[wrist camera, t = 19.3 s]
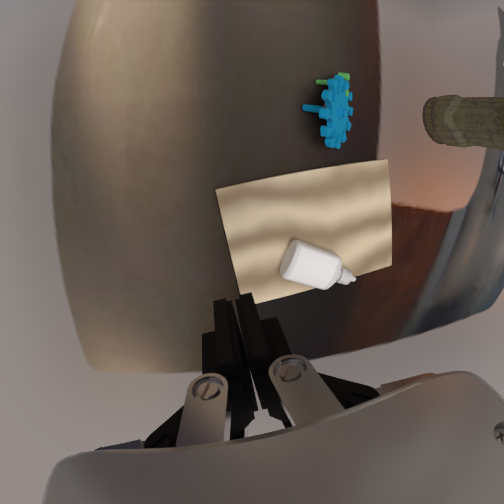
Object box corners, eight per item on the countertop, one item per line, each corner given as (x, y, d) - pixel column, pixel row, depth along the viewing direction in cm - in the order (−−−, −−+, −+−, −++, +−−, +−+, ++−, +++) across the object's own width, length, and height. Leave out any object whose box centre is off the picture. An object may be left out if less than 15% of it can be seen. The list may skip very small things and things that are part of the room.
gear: (345, 160, 36) (323, 131, 27) (308, 152, 39) (276, 124, 30) (362, 94, 34) (344, 54, 25) (326, 89, 37) (300, 53, 28)
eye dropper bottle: (289, 278, 36) (359, 297, 39) (298, 236, 37) (366, 261, 40) (276, 278, 40) (342, 296, 43) (285, 240, 41) (349, 262, 44)
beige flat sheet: (215, 189, 36) (215, 189, 35) (384, 158, 38) (387, 159, 37) (243, 303, 43) (243, 306, 42) (389, 263, 45) (391, 265, 44)
